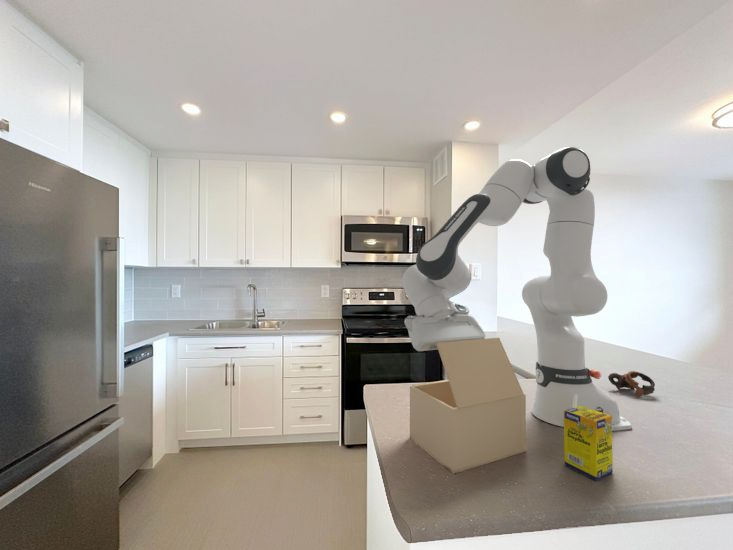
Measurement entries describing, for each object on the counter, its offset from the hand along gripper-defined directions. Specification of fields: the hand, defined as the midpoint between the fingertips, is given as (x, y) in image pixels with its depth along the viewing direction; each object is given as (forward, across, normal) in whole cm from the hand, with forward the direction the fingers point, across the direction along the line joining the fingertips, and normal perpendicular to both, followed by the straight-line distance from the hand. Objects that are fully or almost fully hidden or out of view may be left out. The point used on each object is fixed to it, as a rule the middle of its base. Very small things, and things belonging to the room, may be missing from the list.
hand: (462, 361), depth 70 cm
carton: (+14, 0, +12) cm, 18 cm away
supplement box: (+26, +15, 0) cm, 30 cm away
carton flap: (+4, 0, -3) cm, 5 cm away
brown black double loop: (+11, +77, +15) cm, 79 cm away
